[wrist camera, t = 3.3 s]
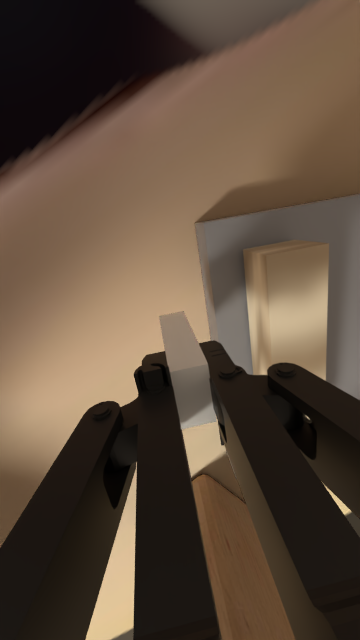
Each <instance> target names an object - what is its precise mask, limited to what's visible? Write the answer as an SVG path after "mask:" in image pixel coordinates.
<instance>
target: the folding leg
mask: <svg viewBox="0 0 360 640" xmlns="http://www.w3.org/2000/svg"><path fill="white" fill-rule="evenodd" d="M243 257H244V269H245V281H246V293H247V305H248V317H249V329H250V342H251V354H252V366H253V375H267V369H268V368H269V367H270V366H272V365H273V364H277V363H282V362H283V363H284V362H287V363H293V364H296V365H299V366H301V367H302V368H304V369H306V370H308V371H309V372H311V373H313V374H315V375H316V376H318V377H320V378H322V379H323V380H325V381H326V346H327V306H328V266H329V243H321V242H312V241H302V240H290V241H285V242H280V243H274V244H269V245H264V246H258V247H253V248H248V249H243ZM306 417H307V416H306ZM307 418H308V417H307Z"/></svg>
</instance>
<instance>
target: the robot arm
mask: <svg viewBox="0 0 360 640" xmlns="http://www.w3.org/2000/svg"><path fill="white" fill-rule="evenodd" d="M159 319H160V324H161V330H162V336H163V342H164V347H165V351H164V352H159V353H154V354H149V355H146V356H145V357H144V359H143V360H142V366H140V367H139V368H137V369H136V370H135V372H134V378H135V382H136V385H137V389H138V397H137V398H136V399H135V400H134V401H132V402H131V403H129V404H127V405H124V406H122V407H120V406H119V404H118V403H116V402H114V401H106V402H101V403H99V404H96V405H94V406H93V407H91V408H90V409H88V410H87V412H86V413H85V414H84V415H83V417H82V418H81V420H80V422H79V423H78V425H77V426H76V428H75V430H74V431H73V433H72V434H71V436H70V438H69V439H68V441H67V442H66V444H65V446H64V447H63V449H62V450H61V452H60V454H59V455H58V457H57V458H56V460H55V462H54V463H53V465H52V466H51V468H50V470H49V471H48V473H47V474H46V476H45V478H44V479H43V481H42V482H41V484H40V486H39V487H38V489H37V490H36V492H35V494H34V495H33V497H32V498H31V500H30V502H29V503H28V505H27V506H26V508H25V510H24V511H23V513H22V514H21V516H20V518H19V519H18V521H17V522H16V524H15V526H14V527H13V529H12V530H11V532H10V533H9V535H8V537H7V538H6V540H5V541H4V543H3V545H2V546H1V548H0V640H85V639H86V635H87V632H88V628H89V625H90V622H91V618H92V615H93V611H94V608H95V605H96V601H97V598H98V594H99V591H100V588H101V584H102V581H103V577H104V574H105V571H106V567H107V564H108V560H109V557H110V554H111V550H112V547H113V544H114V540H115V537H116V533H117V530H118V527H119V523H120V520H121V516H122V513H123V510H124V506H125V503H126V499H127V496H128V493H129V489H130V486H131V482H132V479H133V476H134V472H135V469H136V462H137V490H136V539H135V589H134V638H133V640H222V636H221V631H220V626H219V621H218V615H217V610H216V605H215V600H214V595H213V589H212V584H211V579H210V574H209V569H208V563H207V558H206V553H205V548H204V543H203V537H202V532H201V527H200V522H199V517H198V511H197V506H196V501H195V496H194V491H193V485H192V480H191V475H190V470H189V465H188V460H187V454H186V449H185V444H184V439H183V434H182V429H185V428H190V427H194V426H199V425H203V424H207V423H212V422H216V416H217V419H218V425H219V432H220V439H221V445H225V447H226V450H227V453H228V456H229V458H230V461H231V464H232V467H233V469H234V472H235V475H236V478H237V480H238V483H239V486H240V489H241V491H242V494H243V497H244V500H245V502H246V505H247V508H248V511H249V513H250V516H251V519H252V522H253V524H254V527H255V530H256V533H257V535H258V538H259V541H260V544H261V546H262V549H263V552H264V555H265V557H266V560H267V563H268V566H269V568H270V571H271V574H272V577H273V579H274V582H275V585H276V588H277V590H278V593H279V596H280V599H281V601H282V604H283V607H284V609H285V612H286V615H287V618H288V620H289V623H290V626H291V629H292V631H293V634H294V637H295V640H360V537H359V536H358V535H357V533H356V532H355V530H354V529H353V527H352V526H351V524H350V523H349V521H348V520H347V518H346V517H345V516H344V514H343V513H342V511H341V510H340V508H339V507H338V505H337V504H336V502H335V501H334V500H333V498H332V497H331V495H330V494H329V492H328V491H327V489H326V488H325V486H324V485H323V483H324V484H325V485H326V486H327V487H328V488H329V489H330V490H331V491H332V492H333V493H334V494H335V495H336V496H337V497H338V498H339V499H340V500H341V501H342V502H343V503H344V504H345V505H346V506H347V507H348V508H349V509H350V510H351V511H352V512H353V513H354V514H355V515H356V516H357V517H358V518H359V519H360V400H358V399H357V398H355V397H353V396H351V395H350V394H348V393H346V392H344V391H343V390H341V389H339V388H337V387H336V386H334V385H332V384H330V383H329V382H327V381H325V380H323V379H322V378H320V377H318V376H316V375H315V374H313V373H311V372H309V371H308V370H306V369H304V368H302V367H301V366H299V365H296V364H293V363H287V362H284V363H283V362H282V363H277V364H273V365H272V366H270V367H269V368H268V369H267V375H250V374H247V373H246V371H245V370H244V369H243V368H242V367H240V366H237V365H235V364H234V363H233V361H232V360H231V358H230V356H229V355H228V353H227V352H226V350H225V349H224V347H223V346H222V344H221V343H219V342H217V341H215V340H213V341H208V342H203V343H198V341H197V339H196V337H195V335H194V333H193V330H192V328H191V326H190V324H189V322H188V320H187V317H186V315H185V313H184V311H182V312H177V313H172V314H167V315H162V316H159ZM215 414H216V415H215ZM306 416H307V417H308V418H307V417H306ZM320 480H321V481H322V482H323V483H322V482H321V481H320Z"/></svg>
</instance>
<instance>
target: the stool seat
mask: <svg viewBox="0 0 360 640" xmlns="http://www.w3.org/2000/svg"><path fill="white" fill-rule="evenodd" d="M195 228H196V235H197V242H198V250H199V257H200V264H201V271H202V278H203V286H204V293H205V300H206V307H207V315H208V322H209V329H210V336H211V341H213V340H215V341H217V342H219V343H221V344H222V346H223V347H224V349H225V350H226V352H227V353H228V355H229V356H230V358H231V360H232V361H233V363H234V364H235V365H237V366H240V367H242V368H243V369H244V370H245V371H246V373H247V374H250V375H253V366H252V354H251V342H250V329H249V317H248V305H247V293H246V281H245V269H244V257H243V249H248V248H253V247H258V246H264V245H269V244H274V243H280V242H285V241H290V240H302V241H312V242H321V243H329V266H328V306H327V346H326V381H327V382H329V383H330V384H332V385H334V386H336V387H337V388H339V389H341V390H343V391H344V392H346V393H348V394H350V395H351V396H353V397H355V398H357V399H358V400H360V194H354V195H349V196H343V197H338V198H332V199H326V200H321V201H315V202H310V203H304V204H298V205H293V206H287V207H282V208H276V209H271V210H265V211H259V212H254V213H248V214H243V215H237V216H231V217H226V218H220V219H215V220H209V221H203V222H198V223H195ZM226 452H227V450H226ZM227 455H228V453H227ZM228 458H229V456H228ZM229 461H230V458H229ZM230 463H231V461H230ZM231 466H232V464H231ZM232 469H233V467H232ZM233 471H234V469H233ZM234 474H235V472H234ZM235 477H236V475H235ZM236 479H237V478H236Z"/></svg>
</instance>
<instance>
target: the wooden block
mask: <svg viewBox="0 0 360 640" xmlns="http://www.w3.org/2000/svg"><path fill="white" fill-rule="evenodd" d="M192 485H193V491H194V496H195V501H196V506H197V511H198V517H199V522H200V527H201V532H202V537H203V543H204V548H205V553H206V558H207V563H208V569H209V574H210V579H211V584H212V589H213V595H214V600H215V605H216V610H217V615H218V621H219V626H220V631H221V636H222V640H295V637H294V634H293V631H292V629H291V626H290V623H289V620H288V618H287V615H286V612H285V609H284V607H283V604H282V601H281V599H280V596H279V593H278V590H277V588H276V585H275V582H274V579H273V577H272V574H271V571H270V568H269V566H268V563H267V560H266V557H265V555H264V552H263V549H262V546H261V544H260V541H259V538H258V535H257V533H256V530H255V527H254V524H253V522H252V519H251V516H250V513H249V511H248V508H247V505H246V504H245V503H244V502H243V501H241V500H240V499H239V498H237V497H236V496H235V495H233V494H232V493H231V492H229V491H228V490H227V489H225V488H224V487H223V486H221V485H220V484H219V483H218V482H216V481H215V480H214V479H212V478H211V477H210V476H208V475H201V476H198V477H197V478H196V479H194V480H193V481H192Z"/></svg>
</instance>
